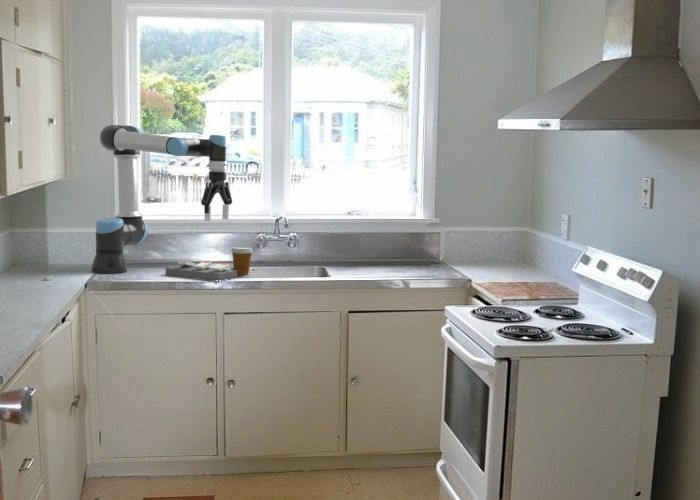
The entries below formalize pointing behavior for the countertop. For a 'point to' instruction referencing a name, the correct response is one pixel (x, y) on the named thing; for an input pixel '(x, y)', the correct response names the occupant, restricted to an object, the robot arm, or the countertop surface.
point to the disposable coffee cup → (241, 259)
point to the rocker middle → (203, 265)
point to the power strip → (200, 273)
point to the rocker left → (186, 263)
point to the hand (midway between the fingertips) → (216, 220)
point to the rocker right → (220, 267)
